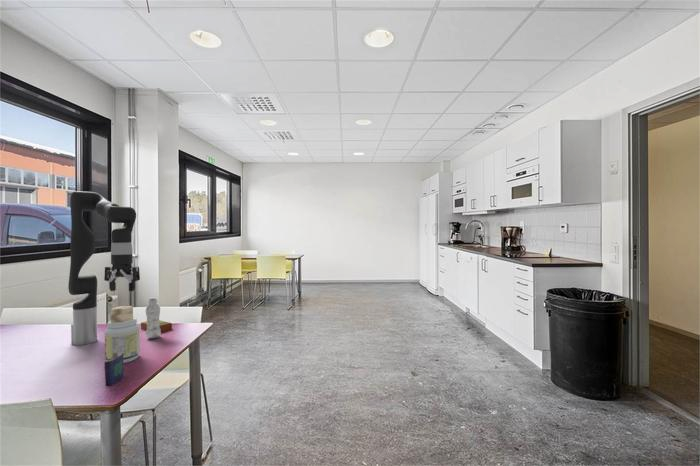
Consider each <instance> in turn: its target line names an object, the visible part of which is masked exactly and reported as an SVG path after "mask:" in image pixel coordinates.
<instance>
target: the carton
mask: <svg viewBox="0 0 700 466" xmlns="http://www.w3.org/2000/svg"><path fill="white" fill-rule="evenodd" d="M159 324H160V329H161V333H163V332H167V331H172V330H173V324H172V322H169V321H164V320H160V319H159ZM140 330H141V331H146V330H147V320H146V321H142V322H140Z"/></svg>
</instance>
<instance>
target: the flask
mask: <svg viewBox="0 0 700 466" xmlns="http://www.w3.org/2000/svg"><path fill="white" fill-rule="evenodd" d="M112 353H114V354H113V355H112V357H111V358H110V359H109V358H108V360H106V361H105V360H104V379H105V382H104V383H105V386H110V387H112V386H114V385H116V384H117V383H118V382H119V381H121V380H122V379H123V378H124V375H125V372H124V363H123V353H119V352H112ZM116 382H117V383H116ZM115 383H116V384H115ZM113 384H114V385H113ZM111 385H112V386H111Z"/></svg>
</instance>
